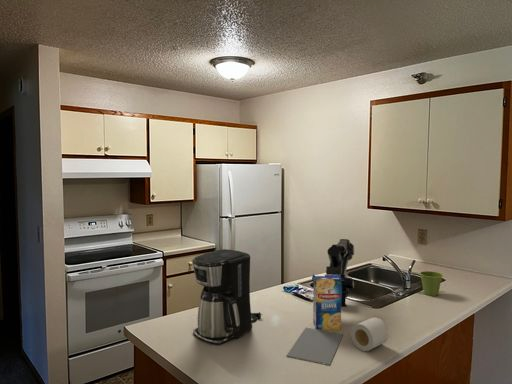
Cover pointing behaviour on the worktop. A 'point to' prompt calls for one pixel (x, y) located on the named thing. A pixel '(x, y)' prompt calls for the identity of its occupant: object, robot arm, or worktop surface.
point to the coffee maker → (223, 295)
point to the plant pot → (431, 282)
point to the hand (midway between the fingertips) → (330, 298)
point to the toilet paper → (369, 334)
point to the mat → (316, 345)
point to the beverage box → (327, 301)
